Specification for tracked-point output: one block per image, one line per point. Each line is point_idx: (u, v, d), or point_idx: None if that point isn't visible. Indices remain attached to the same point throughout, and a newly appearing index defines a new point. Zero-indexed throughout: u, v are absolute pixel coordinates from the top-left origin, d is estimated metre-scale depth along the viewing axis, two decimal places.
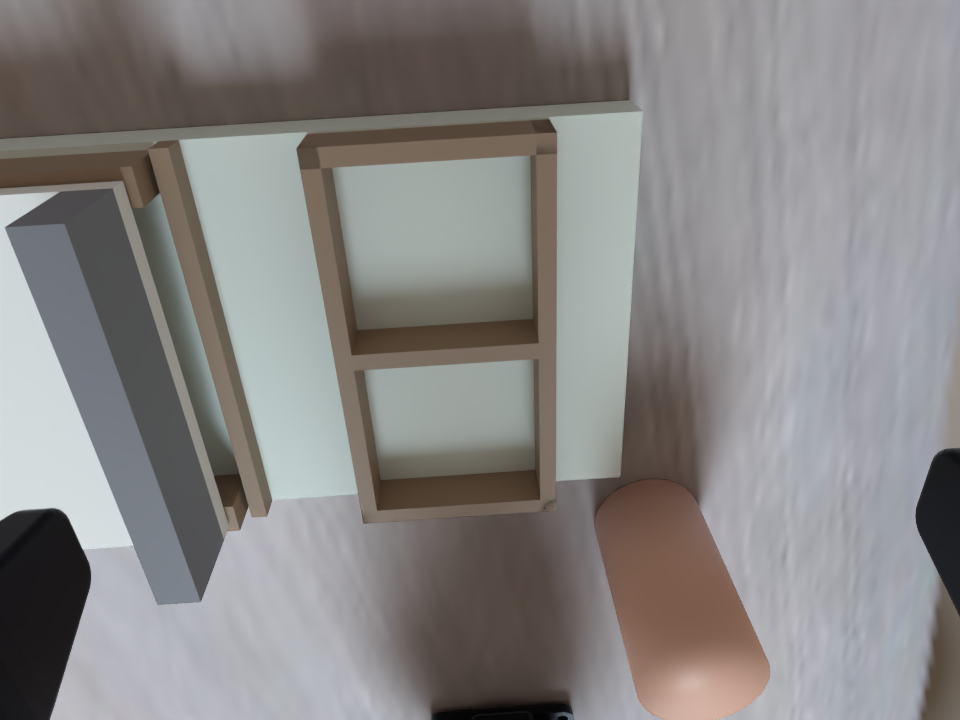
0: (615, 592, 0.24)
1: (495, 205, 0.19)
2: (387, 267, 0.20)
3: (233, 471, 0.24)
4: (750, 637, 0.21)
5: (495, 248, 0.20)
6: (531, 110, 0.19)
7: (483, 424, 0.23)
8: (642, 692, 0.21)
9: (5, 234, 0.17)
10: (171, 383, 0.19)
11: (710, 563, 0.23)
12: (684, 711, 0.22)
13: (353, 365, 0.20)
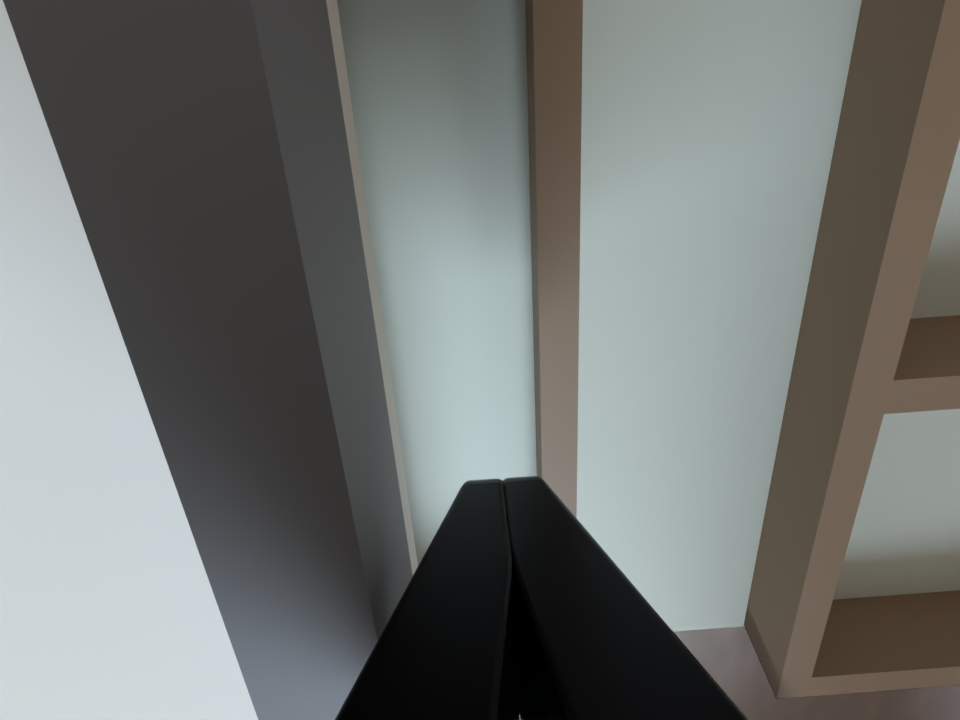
0: None
1: None
2: (953, 183, 0.09)
3: None
4: None
5: None
6: None
7: None
8: None
9: None
10: (393, 462, 0.08)
11: None
12: None
13: (884, 402, 0.09)
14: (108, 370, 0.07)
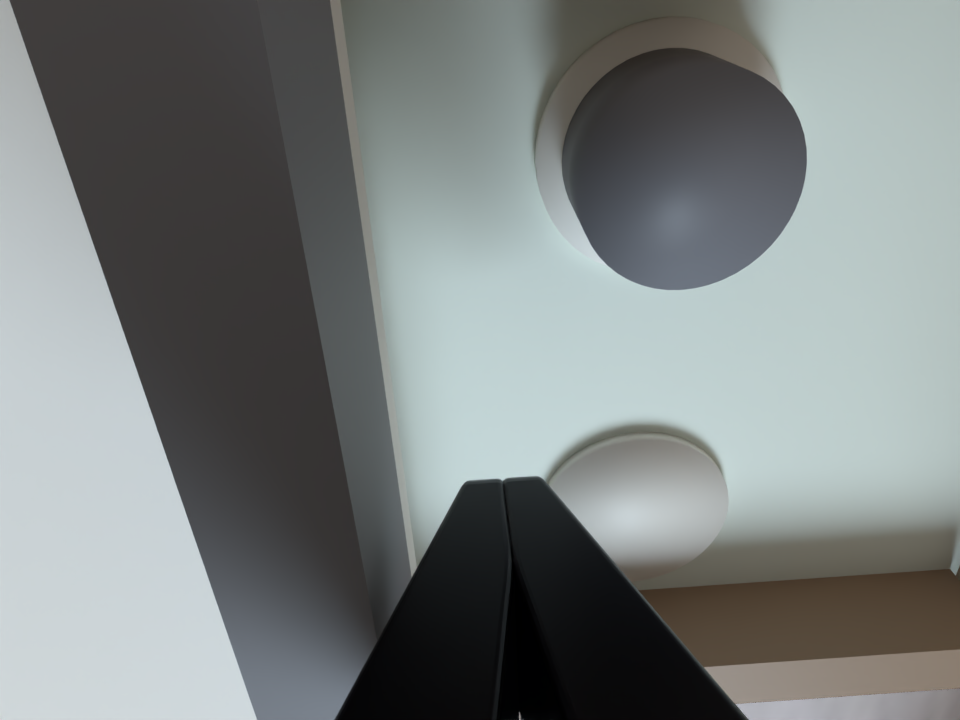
0: None
1: None
2: None
3: (931, 565, 0.13)
4: None
5: None
6: None
7: None
8: None
9: None
10: (393, 462, 0.08)
11: None
12: None
13: None
14: (108, 368, 0.07)
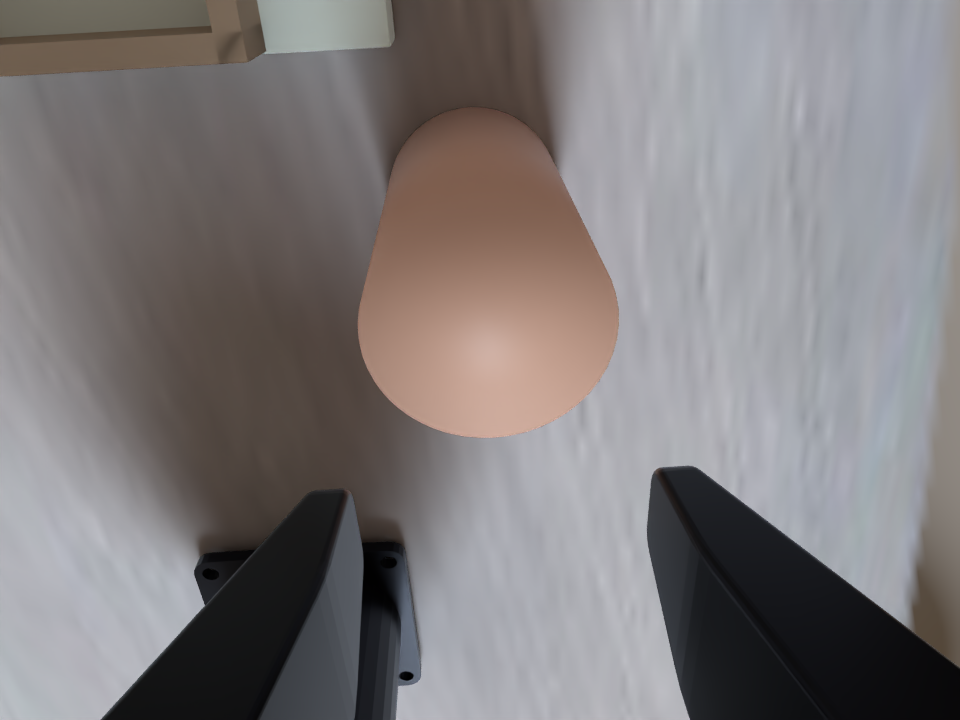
0: None
1: None
2: None
3: None
4: (573, 227, 0.10)
5: None
6: None
7: None
8: (374, 356, 0.11)
9: None
10: None
11: (532, 163, 0.13)
12: (466, 408, 0.12)
13: None
14: None
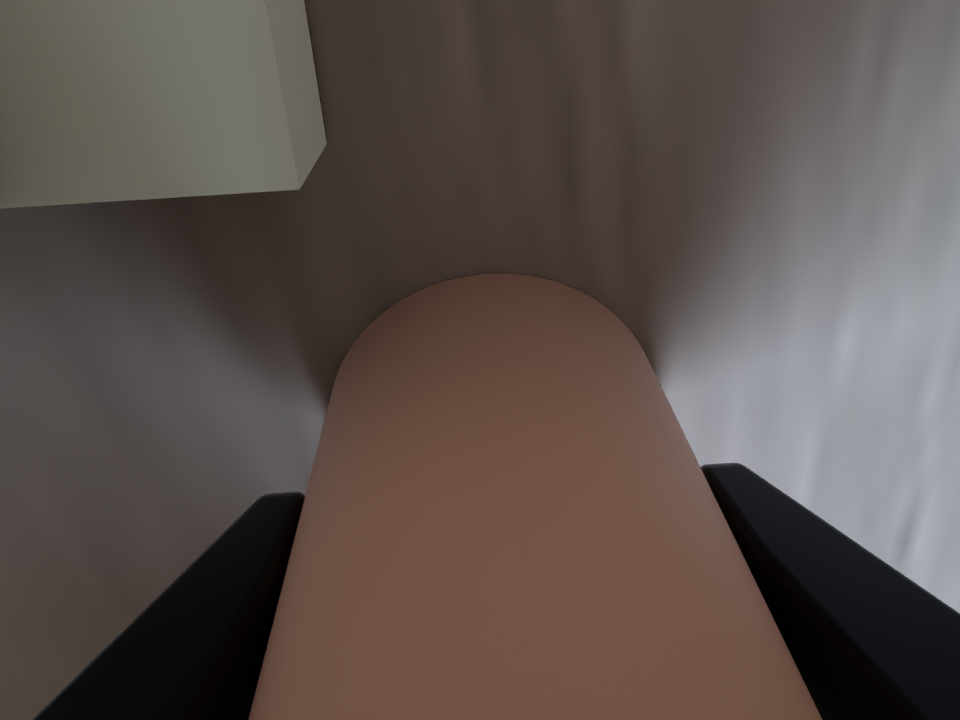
0: None
1: None
2: None
3: None
4: None
5: None
6: None
7: None
8: None
9: None
10: None
11: (679, 556, 0.04)
12: None
13: None
14: None
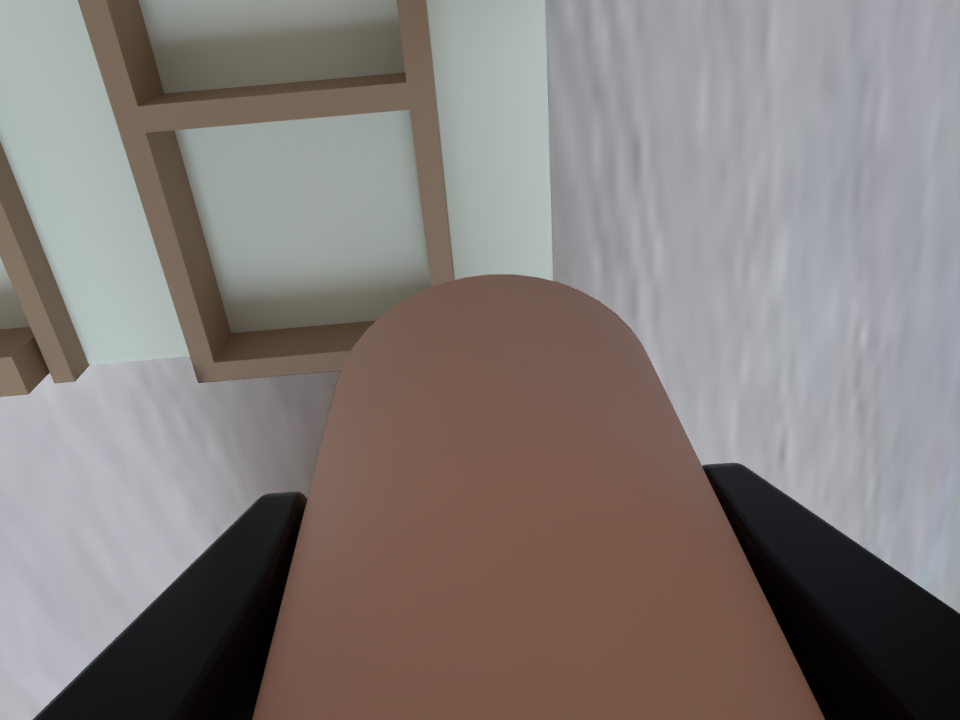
0: None
1: None
2: None
3: None
4: None
5: None
6: None
7: (360, 245, 0.17)
8: None
9: None
10: None
11: (684, 557, 0.04)
12: None
13: (144, 124, 0.14)
14: None
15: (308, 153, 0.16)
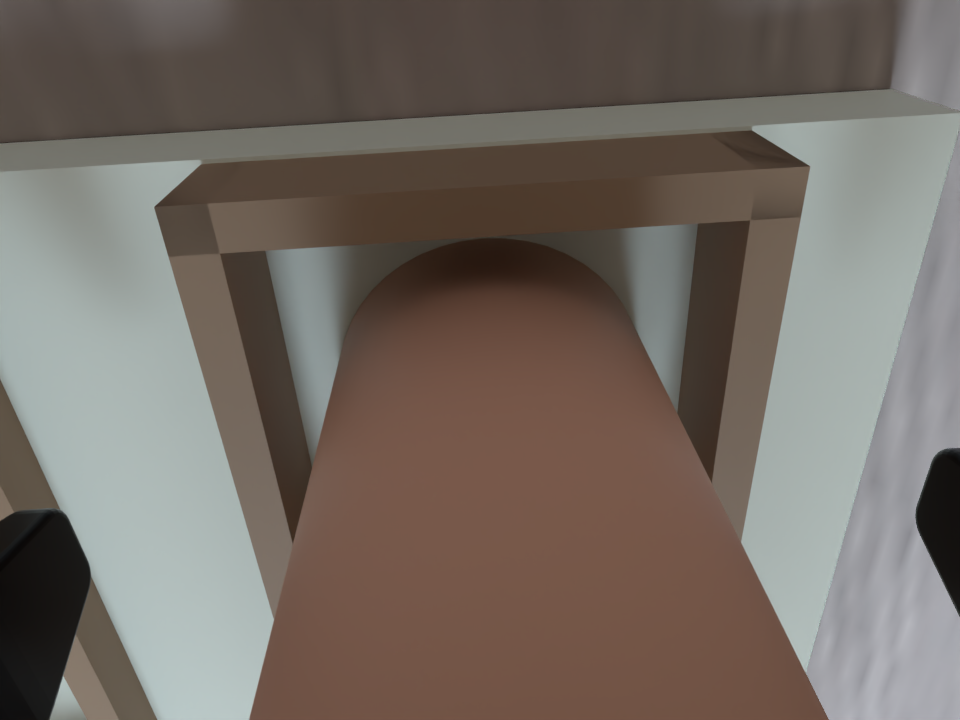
0: None
1: None
2: None
3: None
4: None
5: None
6: (696, 110, 0.09)
7: None
8: None
9: None
10: None
11: (646, 457, 0.05)
12: None
13: None
14: None
15: None
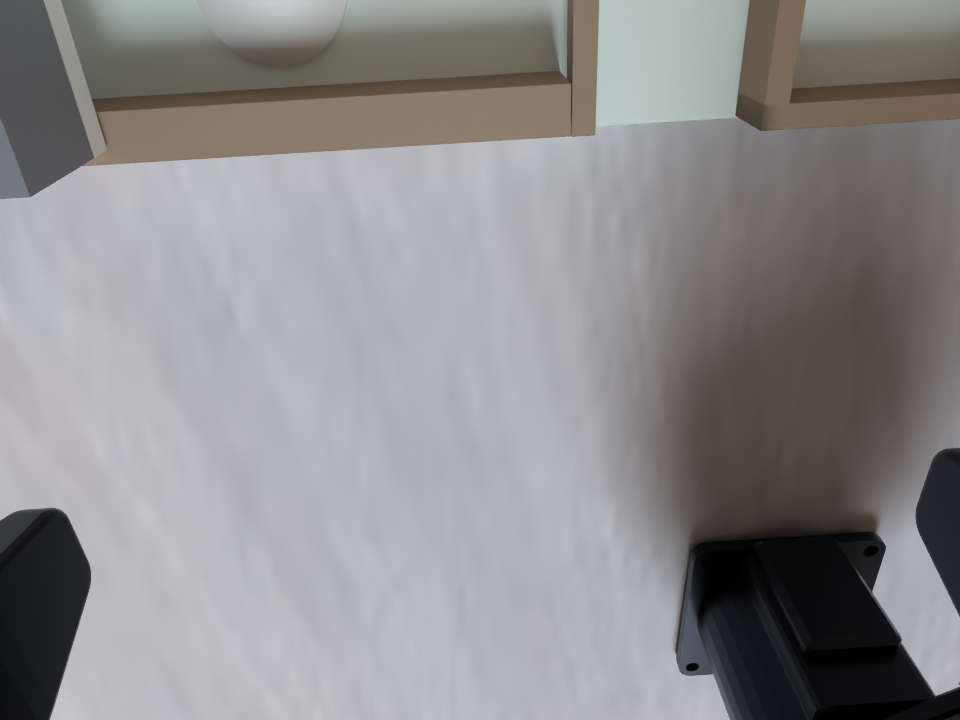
0: None
1: None
2: None
3: (542, 65, 0.15)
4: None
5: None
6: None
7: None
8: None
9: None
10: None
11: None
12: None
13: None
14: None
15: None
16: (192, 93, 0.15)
